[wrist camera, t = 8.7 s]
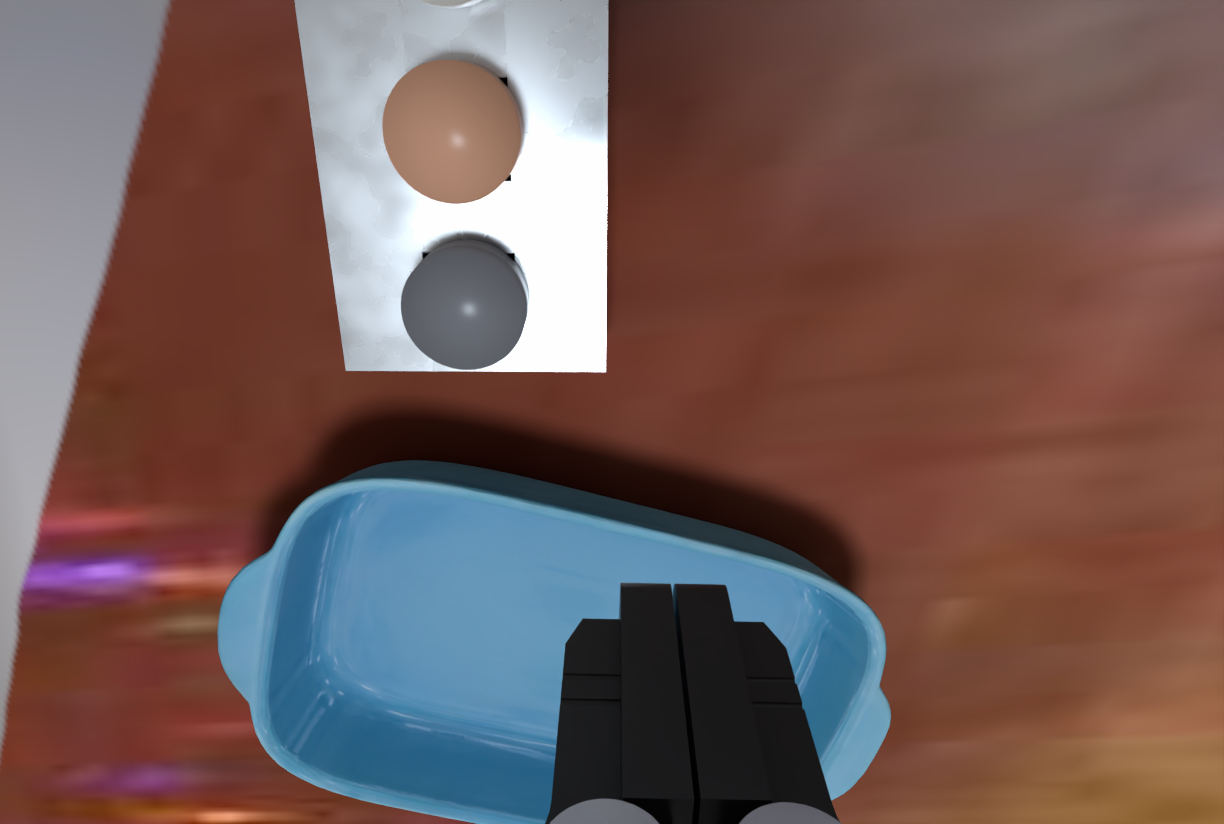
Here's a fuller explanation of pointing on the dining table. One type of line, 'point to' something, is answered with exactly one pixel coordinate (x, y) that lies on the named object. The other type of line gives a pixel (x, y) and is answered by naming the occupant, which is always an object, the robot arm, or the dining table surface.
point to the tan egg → (452, 130)
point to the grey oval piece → (451, 3)
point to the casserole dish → (498, 632)
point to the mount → (507, 218)
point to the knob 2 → (465, 305)
